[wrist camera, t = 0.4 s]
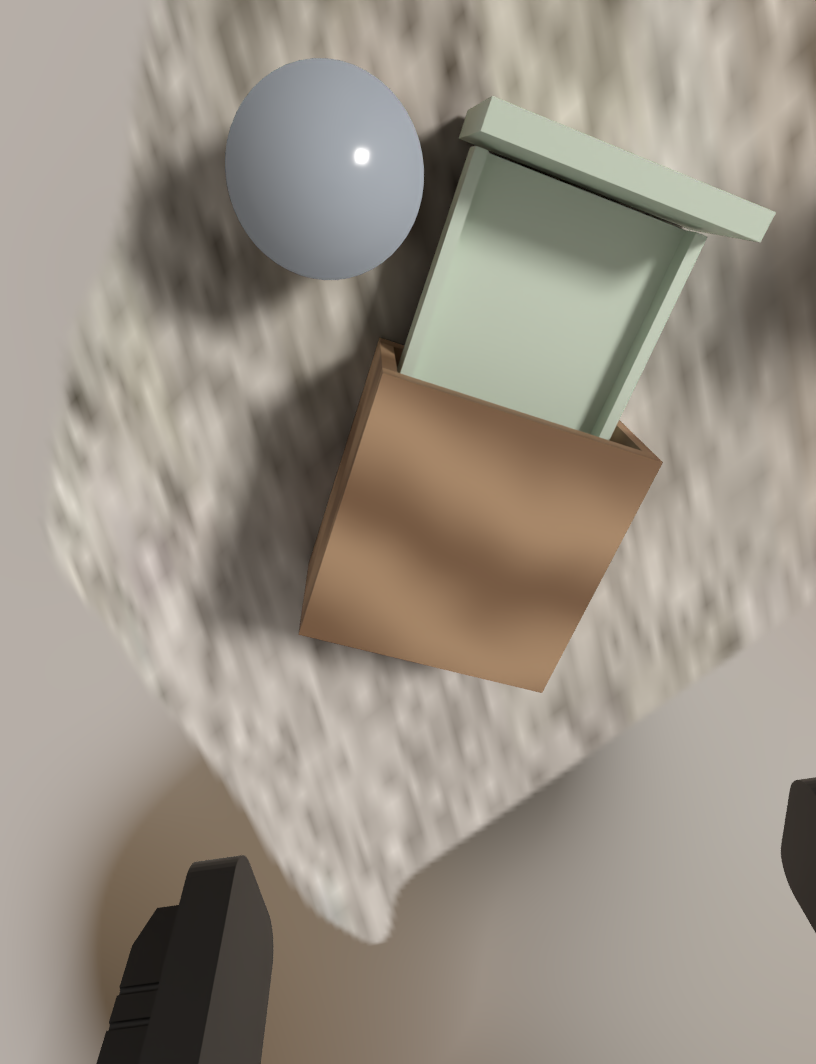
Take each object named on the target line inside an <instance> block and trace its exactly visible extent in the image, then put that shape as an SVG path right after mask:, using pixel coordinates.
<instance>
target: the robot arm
mask: <svg viewBox="0 0 816 1064" xmlns="http://www.w3.org/2000/svg"><path fill="white" fill-rule="evenodd" d="M781 858H782V863H783V868H784V872H785V875H786V878H787V881H788V883H789V886H790V888H791V890H792V892H793V894H794V896H795V898H796V900H797V901H798V903H799V905H800V906H801V908H802V910H803V912H804V913H805V915H806V917H807V919H808V920H809V922H810V924H811V926H812V927H813V929H814V930H815V932H816V778H809V779H801V780H796V781H794V782H793V783H792V785H791V788H790V793H789V799H788V806H787V812H786V818H785V825H784V832H783V838H782V845H781ZM272 964H273V933H272V925H271V920H270V916H269V914H268V911H267V908H266V906H265V903H264V900H263V898H262V895H261V893H260V890H259V887H258V884H257V882H256V879H255V876H254V874H253V871H252V869H251V866H250V863H249V861H248V859H247V858H246V857H245V856H236V857H227V858H220V859H213V860H206V861H199V862H194V863H193V864H192V865H191V867H190V868H189V871H188V873H187V876H186V880H185V884H184V887H183V892H182V895H181V900H180V903H179V905H176V906H169V907H162V908H157V909H156V911H155V912H154V914H153V915H152V917H151V918H150V920H149V921H148V923H147V924H146V926H145V927H144V929H143V930H142V932H141V933H140V935H139V936H138V938H137V939H136V941H135V942H134V944H133V945H132V948H131V951H130V955H129V958H128V961H127V964H126V968H125V971H124V974H123V978H122V981H121V984H120V994H119V995H118V996H117V998H116V1001H115V1004H114V1008H113V1011H112V1014H111V1017H110V1021H109V1023H110V1027H109V1031H106V1034H105V1038H104V1041H103V1044H102V1047H101V1051H100V1054H99V1057H98V1061H97V1064H261V1056H262V1047H263V1039H264V1031H265V1023H266V1014H267V1005H268V998H269V989H270V981H271V972H272Z"/></svg>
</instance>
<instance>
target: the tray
mask: <svg viewBox="0 0 816 1064" xmlns="http://www.w3.org/2000/svg"><path fill="white" fill-rule="evenodd" d="M459 139H461V140H464V141H466V142H469V143H471V144H474V145H476V146H472V147H470V149H469V152H468V155H467V158H466V161H465V164H464V167H463V170H462V173H461V176H460V179H459V182H458V185H457V188H456V191H455V194H454V197H453V200H452V203H451V206H450V209H449V213H448V216H447V219H446V222H445V225H444V228H443V231H442V234H441V237H440V240H439V243H438V246H437V249H436V252H435V255H434V258H433V261H432V264H431V267H430V270H429V273H428V276H427V279H426V282H425V285H424V288H423V291H422V294H421V297H420V300H419V303H418V306H417V309H416V313H415V316H414V319H413V322H412V325H411V328H410V331H409V334H408V337H407V340H406V343H405V346H404V349H403V352H402V355H401V358H400V361H399V364H398V367H397V372H398V373H401V374H404V375H407V376H410V377H413V378H416V379H419V380H422V381H426V382H429V383H432V384H435V385H438V386H441V387H444V388H447V389H451V390H454V391H457V392H460V393H463V394H466V395H469V396H472V397H475V398H479V399H482V400H485V401H488V402H491V403H494V404H497V405H500V406H504V407H507V408H510V409H513V410H516V411H519V412H522V413H525V414H528V415H532V416H535V417H538V418H541V419H544V420H547V421H550V422H553V423H557V424H560V425H563V426H566V427H569V428H572V429H575V430H578V431H581V432H585V433H588V434H591V435H594V436H597V437H600V438H603V439H606V440H610V438H611V436H612V434H613V432H614V430H615V427H616V425H617V423H618V421H619V419H620V417H621V415H622V413H623V411H624V409H625V407H626V405H627V403H628V400H629V398H630V396H631V394H632V392H633V390H634V388H635V386H636V384H637V382H638V380H639V378H640V376H641V374H642V371H643V369H644V367H645V365H646V363H647V361H648V359H649V357H650V355H651V353H652V351H653V349H654V347H655V345H656V342H657V340H658V338H659V336H660V334H661V332H662V330H663V328H664V326H665V324H666V322H667V320H668V318H669V316H670V313H671V311H672V309H673V307H674V305H675V303H676V301H677V299H678V297H679V295H680V293H681V291H682V289H683V287H684V284H685V282H686V280H687V278H688V276H689V274H690V272H691V270H692V268H693V266H694V264H695V262H696V260H697V257H698V255H699V253H700V251H701V249H702V247H703V245H704V243H705V241H706V239H707V236H704V235H702V234H699V233H696V232H691V231H686V230H683V229H681V228H678V227H676V226H673V225H671V224H668V223H665V222H663V221H660V220H658V219H655V218H653V217H650V216H648V215H645V214H643V213H640V212H638V211H635V210H632V209H630V208H627V207H625V206H622V205H620V204H617V203H615V202H612V201H610V200H607V199H604V198H602V197H599V196H597V195H594V194H592V193H589V192H587V191H584V190H582V189H579V188H577V187H574V186H571V185H569V184H566V183H564V182H561V181H559V180H556V179H554V178H551V177H549V176H546V175H544V174H541V173H538V172H536V171H533V170H531V169H528V168H526V167H523V166H521V165H518V164H516V163H513V162H510V161H508V160H505V159H503V158H500V157H498V156H495V155H493V154H490V153H488V152H489V151H492V152H494V153H497V154H499V155H502V156H504V157H507V158H509V159H512V160H514V161H517V162H519V163H522V164H524V165H527V166H530V167H532V168H535V169H537V170H540V171H542V172H545V173H547V174H550V175H552V176H555V177H557V178H560V179H563V180H565V181H568V182H570V183H573V184H575V185H578V186H580V187H583V188H585V189H588V190H590V191H593V192H596V193H598V194H601V195H603V196H606V197H608V198H611V199H613V200H616V201H618V202H621V203H623V204H626V205H628V206H631V207H634V208H636V209H639V210H641V211H644V212H646V213H649V214H651V215H654V216H656V217H659V218H661V219H664V220H667V221H669V222H672V223H674V224H677V225H679V226H682V227H684V228H687V229H689V230H694V231H699V232H705V233H710V234H716V235H721V236H727V237H733V238H738V239H744V240H749V241H755V242H761V240H762V238H763V236H764V235H765V233H766V231H767V229H768V227H769V225H770V223H771V221H772V219H773V217H774V215H775V213H776V212H774V211H771V210H769V209H767V208H764V207H762V206H759V205H757V204H754V203H752V202H750V201H747V200H745V199H742V198H740V197H737V196H735V195H732V194H730V193H728V192H725V191H723V190H720V189H718V188H715V187H713V186H711V185H708V184H706V183H703V182H701V181H698V180H696V179H694V178H691V177H689V176H686V175H684V174H681V173H679V172H676V171H674V170H672V169H669V168H667V167H664V166H662V165H659V164H657V163H655V162H652V161H650V160H647V159H645V158H642V157H640V156H638V155H635V154H633V153H630V152H628V151H625V150H623V149H620V148H618V147H616V146H613V145H611V144H608V143H606V142H603V141H601V140H599V139H596V138H594V137H591V136H589V135H586V134H584V133H581V132H579V131H577V130H574V129H572V128H569V127H567V126H564V125H562V124H560V123H557V122H555V121H552V120H550V119H547V118H545V117H543V116H540V115H538V114H535V113H533V112H530V111H528V110H525V109H523V108H521V107H518V106H516V105H513V104H511V103H508V102H506V101H504V100H501V99H499V98H496V97H494V96H491V97H490V98H488V99H486V100H485V101H483V102H481V103H480V104H478V105H476V106H474V107H473V108H471V109H469V110H468V111H467V114H466V117H465V121H464V124H463V127H462V130H461V133H460V136H459ZM478 146H479V147H478ZM483 148H484V149H483ZM488 150H489V151H488Z"/></svg>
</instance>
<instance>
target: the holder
mask: <svg viewBox="0 0 816 1064" xmlns="http://www.w3.org/2000/svg"><path fill="white" fill-rule="evenodd" d="M403 349H404V345H401V344H398V343H395V342H392V341H389V340H386V339H383V338H379V341H378V344H377V347H376V351H375V354H374V357H373V360H372V363H371V366H370V370H369V373H368V376H367V379H366V382H365V386H364V389H363V392H362V395H361V398H360V402H359V405H358V408H357V411H356V414H355V418H354V421H353V424H352V427H351V430H350V434H349V437H348V440H347V443H346V446H345V449H344V453H343V456H342V459H341V462H340V465H339V469H338V472H337V475H336V478H335V481H334V485H333V488H332V491H331V494H330V497H329V501H328V504H327V507H326V510H325V513H324V517H323V520H322V523H321V526H320V529H319V532H318V536H317V539H316V542H315V545H314V548H313V552H312V555H311V558H310V561H309V565H308V572H307V579H306V586H305V593H304V600H303V607H302V614H301V621H300V628H299V635H302V636H307V637H311V638H315V639H319V640H323V641H327V642H332V643H336V644H340V645H344V646H348V647H352V648H357V649H361V650H365V651H369V652H373V653H378V654H382V655H386V656H390V657H394V658H398V659H403V660H407V661H411V662H415V663H419V664H423V665H428V666H432V667H436V668H440V669H444V670H449V671H453V672H457V673H461V674H465V675H469V676H474V677H478V678H482V679H486V680H490V681H494V682H499V683H503V684H507V685H511V686H515V687H520V688H524V689H528V690H532V691H536V692H540V693H542V692H543V690H544V688H545V686H546V684H547V682H548V680H549V678H550V677H551V675H552V673H553V671H554V669H555V667H556V665H557V663H558V661H559V659H560V658H561V656H562V654H563V652H564V650H565V648H566V646H567V644H568V642H569V640H570V638H571V637H572V635H573V633H574V631H575V629H576V627H577V625H578V623H579V621H580V619H581V617H582V616H583V614H584V612H585V610H586V608H587V606H588V604H589V602H590V600H591V598H592V597H593V595H594V593H595V591H596V589H597V587H598V585H599V583H600V581H601V579H602V577H603V576H604V574H605V572H606V570H607V568H608V566H609V564H610V562H611V560H612V558H613V557H614V555H615V553H616V551H617V549H618V547H619V545H620V543H621V541H622V539H623V537H624V536H625V534H626V532H627V530H628V528H629V526H630V524H631V522H632V520H633V518H634V516H635V515H636V513H637V511H638V509H639V507H640V505H641V503H642V501H643V499H644V497H645V496H646V494H647V492H648V490H649V488H650V486H651V484H652V482H653V480H654V478H655V476H656V475H657V473H658V471H659V469H660V467H661V465H662V463H663V462H662V461H661V460H660V459H659V458H658V457H657V456H656V455H655V454H654V453H653V452H652V451H651V450H650V449H649V448H648V447H646V446H645V445H644V444H643V443H642V442H641V441H640V440H639V439H638V438H637V437H636V436H635V435H634V434H633V433H632V432H631V431H630V430H629V429H628V428H627V427H626V426H625V425H624V424H623V423H622V422H621V421H620V420H619V421H618V423H617V425H616V427H615V430H614V432H613V434H612V436H611V438H610V440H606V439H603V438H600V437H597V436H594V435H591V434H588V433H585V432H581V431H578V430H575V429H572V428H569V427H566V426H563V425H560V424H557V423H553V422H550V421H547V420H544V419H541V418H538V417H535V416H532V415H528V414H525V413H522V412H519V411H516V410H513V409H510V408H507V407H504V406H500V405H497V404H494V403H491V402H488V401H485V400H482V399H479V398H475V397H472V396H469V395H466V394H463V393H460V392H457V391H454V390H451V389H447V388H444V387H441V386H438V385H435V384H432V383H429V382H426V381H422V380H419V379H416V378H413V377H410V376H407V375H404V374H401V373H398V372H397V367H398V364H399V361H400V358H401V355H402V352H403Z"/></svg>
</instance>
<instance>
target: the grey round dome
mask: <svg viewBox="0 0 816 1064" xmlns="http://www.w3.org/2000/svg"><path fill="white" fill-rule="evenodd" d="M225 173H226V182H227V187H228V192H229V196H230V200H231V202H232V205H233V208H234V211H235V213H236V215H237V217H238V219H239V221H240V223H241V225H242V227H243V228H244V230H245V231H246V233H247V235H248V236H249V237H250V239H251V240H252V241H253V242H254V243H255V245H256V246H257V247H258V248H259V249H260V250H261V251H262V252H263V253H264V254H265V255H266V256H268V257H269V258H270V259H271V260H273V261H274V262H275V263H277V264H278V265H280V266H282V267H284V268H285V269H287V270H289V271H291V272H294V273H296V274H299V275H302V276H305V277H309V278H313V279H321V280H339V279H346V278H350V277H354V276H357V275H361V274H363V273H365V272H367V271H369V270H372V269H373V268H375V267H376V266H378V265H380V264H381V263H383V262H384V261H385V260H386V259H387V258H389V257H390V256H391V255H392V254H393V253H394V252H395V251H396V250H397V248H398V247H399V246H400V245H401V244H402V242H403V241H404V239H405V238H406V237H407V235H408V233H409V231H410V230H411V228H412V226H413V224H414V222H415V219H416V216H417V214H418V211H419V207H420V203H421V199H422V193H423V185H424V165H423V156H422V151H421V146H420V142H419V138H418V136H417V133H416V130H415V127H414V125H413V123H412V121H411V119H410V117H409V115H408V113H407V111H406V110H405V108H404V107H403V105H402V104H401V102H400V101H399V99H398V98H397V97H396V96H395V95H394V94H393V92H392V91H391V90H390V89H389V88H388V87H387V86H386V85H385V84H383V83H382V82H381V81H380V80H379V79H378V78H376V77H375V76H373V75H372V74H370V73H369V72H367V71H365V70H363V69H361V68H359V67H357V66H355V65H353V64H350V63H346V62H343V61H340V60H334V59H328V58H312V59H305V60H299V61H296V62H293V63H289V64H286V65H284V66H282V67H280V68H278V69H276V70H274V71H273V72H271V73H270V74H268V75H267V76H266V77H264V78H263V79H262V80H261V81H260V82H259V83H258V84H256V85H255V86H254V87H253V88H252V90H251V91H250V92H249V93H248V95H247V96H246V97H245V99H244V100H243V102H242V103H241V105H240V107H239V109H238V110H237V112H236V115H235V117H234V119H233V122H232V124H231V127H230V131H229V135H228V139H227V145H226V153H225Z"/></svg>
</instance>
